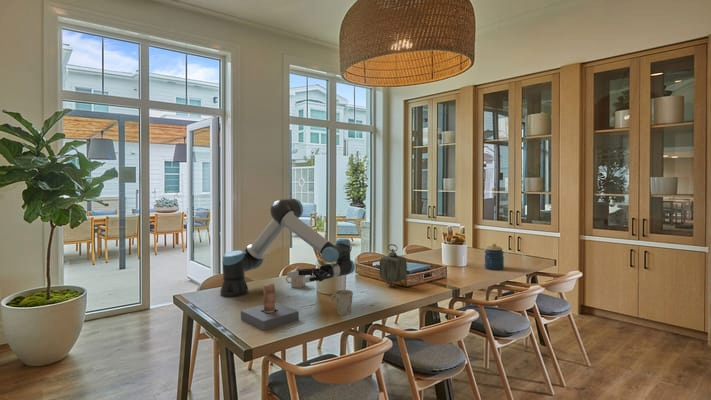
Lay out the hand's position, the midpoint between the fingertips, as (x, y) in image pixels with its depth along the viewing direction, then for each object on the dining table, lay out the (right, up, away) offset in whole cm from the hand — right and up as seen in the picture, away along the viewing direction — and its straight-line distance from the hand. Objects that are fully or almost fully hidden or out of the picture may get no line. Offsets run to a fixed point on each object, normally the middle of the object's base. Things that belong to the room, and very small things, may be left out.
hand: (295, 277), depth 189 cm
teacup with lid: (-7, -15, +47) cm, 50 cm away
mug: (+22, -16, -2) cm, 27 cm away
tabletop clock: (+51, -14, +44) cm, 69 cm away
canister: (+127, -11, +88) cm, 155 cm away
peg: (-10, -17, -10) cm, 22 cm away
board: (-10, -17, -10) cm, 22 cm away
